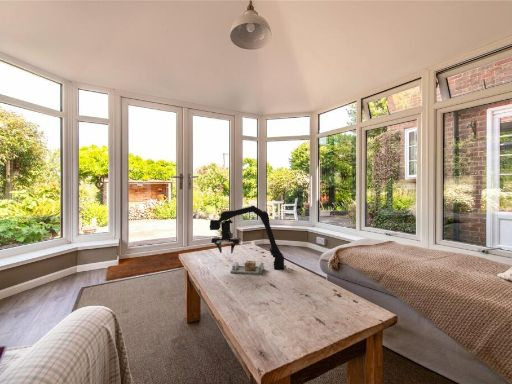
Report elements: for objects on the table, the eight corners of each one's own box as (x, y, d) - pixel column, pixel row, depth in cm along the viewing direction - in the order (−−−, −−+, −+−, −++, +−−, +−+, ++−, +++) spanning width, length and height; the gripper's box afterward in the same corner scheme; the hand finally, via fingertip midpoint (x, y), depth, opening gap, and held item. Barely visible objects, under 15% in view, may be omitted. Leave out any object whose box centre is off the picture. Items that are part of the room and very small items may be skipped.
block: (255, 268, 158) (255, 261, 158) (254, 271, 154) (254, 263, 154) (246, 268, 159) (246, 260, 159) (245, 270, 155) (244, 262, 155)
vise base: (263, 268, 160) (263, 262, 160) (261, 274, 150) (260, 267, 150) (234, 267, 164) (234, 261, 164) (230, 273, 154) (230, 266, 154)
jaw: (238, 266, 162) (238, 262, 162) (235, 270, 155) (235, 265, 155) (235, 266, 163) (235, 261, 162) (232, 270, 155) (232, 265, 155)
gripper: (242, 227, 165) (243, 250, 165) (216, 227, 169) (217, 249, 169) (238, 231, 154) (238, 255, 155) (210, 230, 158) (211, 254, 158)
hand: (226, 253), depth 159 cm, fingers open, 7 cm apart
